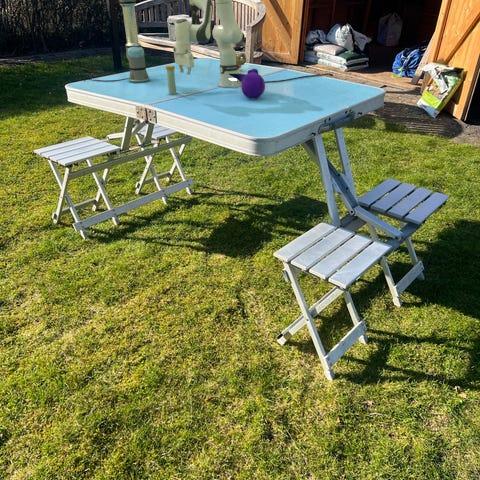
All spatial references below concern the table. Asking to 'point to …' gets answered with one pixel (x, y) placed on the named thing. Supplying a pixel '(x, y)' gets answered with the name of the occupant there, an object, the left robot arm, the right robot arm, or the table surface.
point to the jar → (171, 82)
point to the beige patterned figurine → (239, 59)
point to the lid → (170, 67)
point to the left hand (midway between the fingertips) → (196, 35)
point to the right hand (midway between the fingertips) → (185, 73)
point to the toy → (251, 83)
